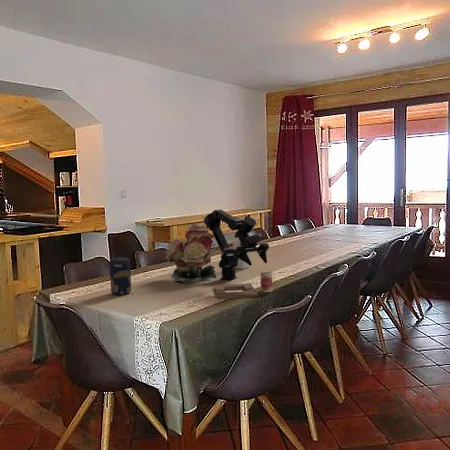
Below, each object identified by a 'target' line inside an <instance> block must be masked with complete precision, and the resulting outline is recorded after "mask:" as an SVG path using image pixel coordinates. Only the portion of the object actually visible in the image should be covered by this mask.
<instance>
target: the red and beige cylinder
mask: <svg viewBox="0 0 450 450" xmlns="http://www.w3.org/2000/svg"><path fill="white" fill-rule="evenodd" d="M259 274H260V292H262V293H271V292H273V289H274V288H273V271H271V270H263V271H262V270H261V271H260V273H259Z"/></svg>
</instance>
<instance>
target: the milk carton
mask: <svg viewBox="0 0 450 450" xmlns="http://www.w3.org/2000/svg"><path fill="white" fill-rule="evenodd" d="M240 244H241V242H240V240H239V239H238V238H235V239H234V241H233V243H232V249H236V248H237V247H240ZM247 255H248V257H249V259H250V260H251V252H249V253H248V252H247ZM250 267H251V266H250V265H248V264H247V263H245V262H244V261H242V260H240V259H238V264H237V267H235V269H238V270H240V269H241V270H244V269H248V268H250Z"/></svg>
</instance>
